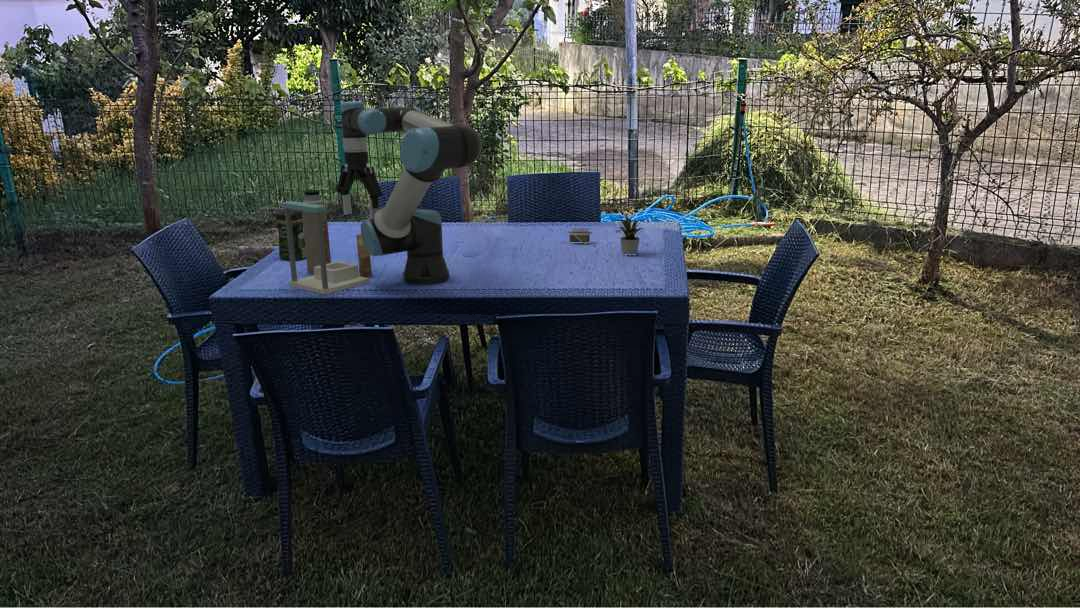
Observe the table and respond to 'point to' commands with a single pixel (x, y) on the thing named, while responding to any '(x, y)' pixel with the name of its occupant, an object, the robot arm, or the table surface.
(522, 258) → the table surface
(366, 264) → the oak peg
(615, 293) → the table surface
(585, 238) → the platform
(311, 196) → the thermos bottle
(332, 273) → the cream tall frame
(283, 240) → the coffee jar
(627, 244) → the house plant
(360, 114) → the robot arm
